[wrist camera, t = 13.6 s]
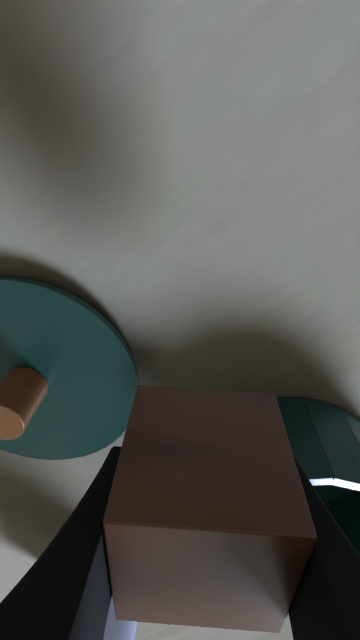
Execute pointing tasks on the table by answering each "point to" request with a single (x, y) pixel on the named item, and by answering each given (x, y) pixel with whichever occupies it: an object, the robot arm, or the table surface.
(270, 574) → the block
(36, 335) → the lid
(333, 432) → the pot
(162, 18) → the table surface
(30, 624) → the robot arm
